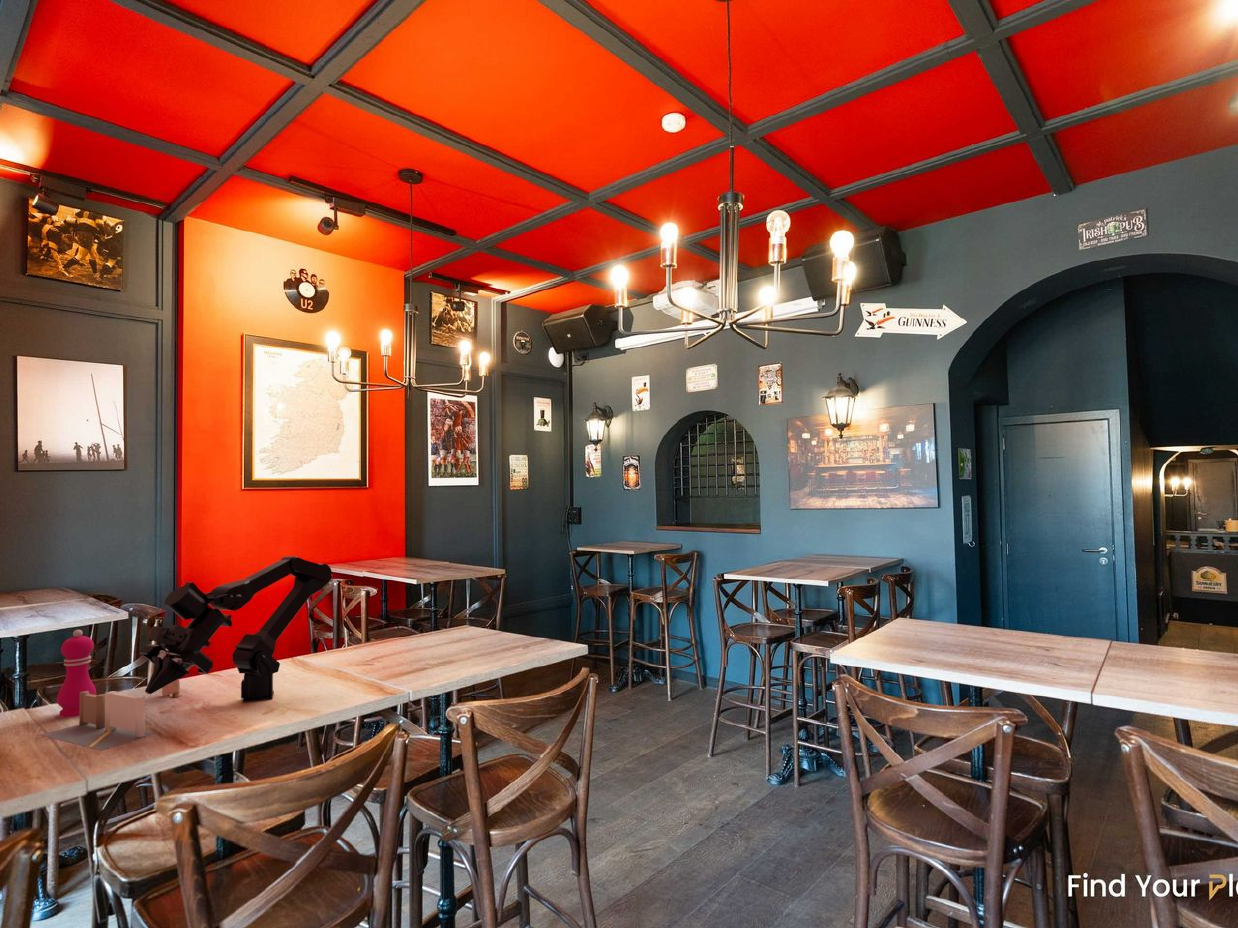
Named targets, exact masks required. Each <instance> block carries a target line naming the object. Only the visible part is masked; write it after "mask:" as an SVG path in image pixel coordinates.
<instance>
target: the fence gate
mask: <svg viewBox="0 0 1238 928" xmlns="http://www.w3.org/2000/svg"><path fill="white" fill-rule="evenodd" d="M104 694H105V731H112V730H115V729H117V728H120V729H125V730H129V731H134V732H135V737H136V738H138V737H143V736H145V732H146V729H145V726H146V697H145V696H139V695H134V694H130V693H123V692H118V691H116V690H115V691H113V690H112V691H108V692H107V691H106V693H104Z"/></svg>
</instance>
